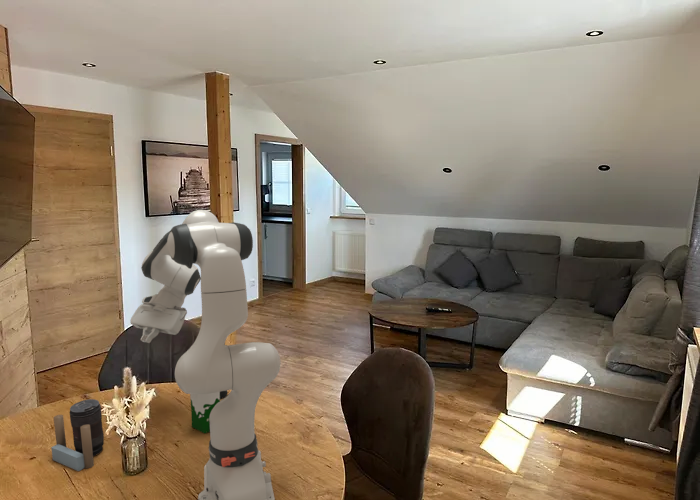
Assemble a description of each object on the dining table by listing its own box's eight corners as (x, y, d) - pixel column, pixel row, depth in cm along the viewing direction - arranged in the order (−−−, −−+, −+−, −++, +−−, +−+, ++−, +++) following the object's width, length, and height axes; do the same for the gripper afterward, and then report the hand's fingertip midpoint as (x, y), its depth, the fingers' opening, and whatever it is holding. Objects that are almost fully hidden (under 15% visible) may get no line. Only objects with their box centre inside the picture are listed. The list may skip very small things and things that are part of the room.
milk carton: (209, 417, 168) (206, 360, 165) (227, 424, 163) (224, 367, 160) (187, 427, 161) (183, 369, 158) (204, 436, 156) (201, 376, 153)
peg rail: (63, 451, 148) (59, 414, 146) (95, 464, 141) (91, 425, 139) (49, 458, 144) (45, 420, 142) (81, 472, 137) (77, 432, 135)
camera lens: (68, 455, 146) (62, 408, 143) (94, 441, 153) (89, 396, 150) (85, 462, 142) (80, 414, 140) (111, 448, 149) (106, 402, 146)
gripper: (194, 313, 164) (173, 350, 157) (152, 306, 174) (130, 341, 167) (183, 303, 160) (161, 341, 153) (140, 297, 169) (117, 332, 162)
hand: (144, 341), depth 160 cm, fingers closed
